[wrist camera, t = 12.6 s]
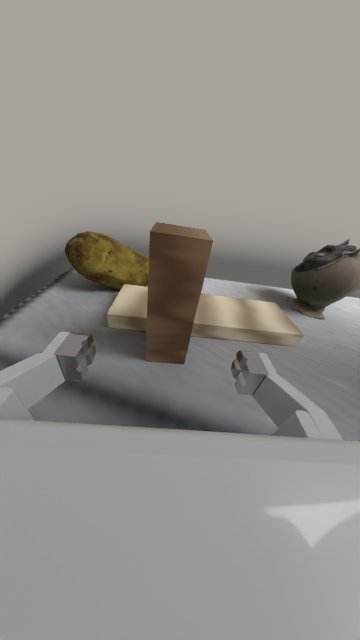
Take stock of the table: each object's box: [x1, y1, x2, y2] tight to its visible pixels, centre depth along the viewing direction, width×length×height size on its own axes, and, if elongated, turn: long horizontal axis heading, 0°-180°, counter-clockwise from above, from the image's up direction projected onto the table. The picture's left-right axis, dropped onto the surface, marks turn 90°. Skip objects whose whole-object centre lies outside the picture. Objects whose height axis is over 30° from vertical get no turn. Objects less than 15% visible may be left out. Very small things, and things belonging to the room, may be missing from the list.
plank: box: [107, 284, 303, 346], centre depth 25 cm, size 24×8×2 cm, turn 91°
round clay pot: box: [288, 240, 360, 319], centre depth 30 cm, size 10×12×10 cm
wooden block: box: [145, 222, 213, 364], centre depth 19 cm, size 4×11×12 cm, turn 1°
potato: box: [65, 232, 149, 290], centre depth 28 cm, size 8×13×8 cm, turn 96°
